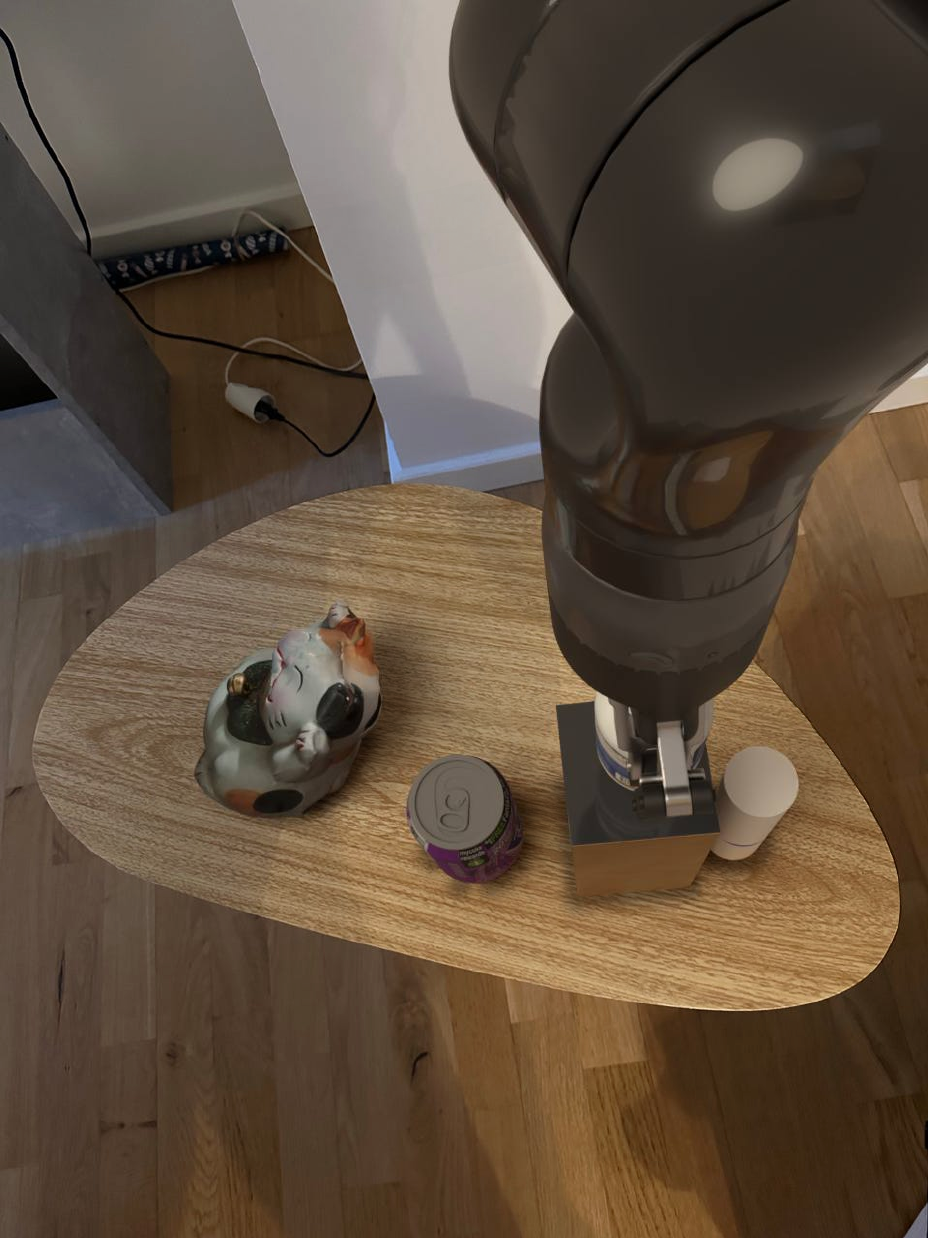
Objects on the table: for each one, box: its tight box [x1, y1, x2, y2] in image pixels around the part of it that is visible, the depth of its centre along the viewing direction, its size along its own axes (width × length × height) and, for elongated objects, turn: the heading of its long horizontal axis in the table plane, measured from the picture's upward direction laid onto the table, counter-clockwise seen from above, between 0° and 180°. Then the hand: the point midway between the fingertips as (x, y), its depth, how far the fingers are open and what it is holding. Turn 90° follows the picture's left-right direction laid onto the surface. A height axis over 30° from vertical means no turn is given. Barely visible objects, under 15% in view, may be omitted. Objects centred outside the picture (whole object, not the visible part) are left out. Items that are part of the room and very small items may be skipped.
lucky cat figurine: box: [193, 598, 383, 819], centre depth 76 cm, size 15×12×14 cm
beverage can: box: [405, 753, 524, 884], centre depth 72 cm, size 7×7×12 cm
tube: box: [710, 745, 800, 861], centre depth 68 cm, size 4×4×15 cm
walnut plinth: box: [570, 834, 719, 898], centre depth 67 cm, size 8×8×20 cm
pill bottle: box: [594, 691, 715, 791], centre depth 49 cm, size 5×5×10 cm
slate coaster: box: [555, 700, 720, 848], centre depth 57 cm, size 8×8×1 cm
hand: (643, 714), depth 48 cm, fingers closed on pill bottle, 5 cm apart
